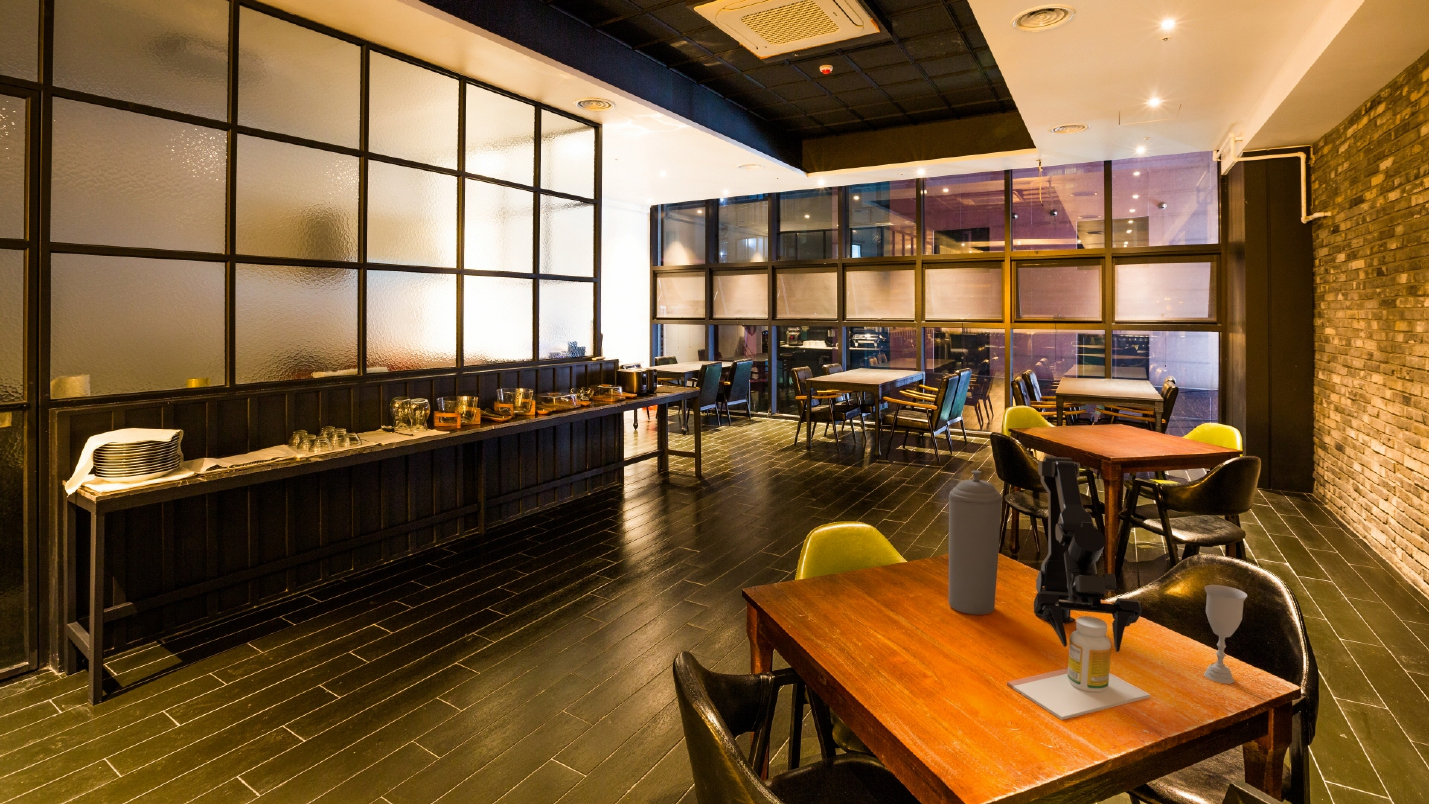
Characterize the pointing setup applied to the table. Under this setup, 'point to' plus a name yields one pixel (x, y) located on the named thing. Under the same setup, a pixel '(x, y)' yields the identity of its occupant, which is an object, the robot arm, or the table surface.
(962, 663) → the table surface
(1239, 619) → the chalice
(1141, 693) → the notepad
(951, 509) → the canister
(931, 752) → the table surface
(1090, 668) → the supplement bottle
